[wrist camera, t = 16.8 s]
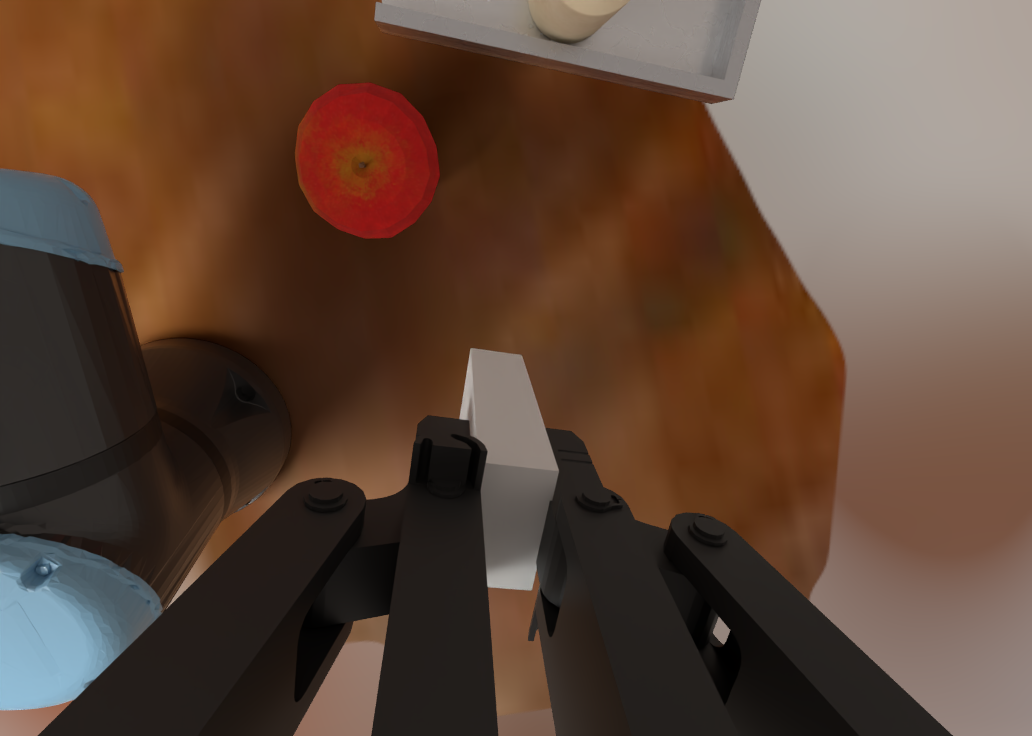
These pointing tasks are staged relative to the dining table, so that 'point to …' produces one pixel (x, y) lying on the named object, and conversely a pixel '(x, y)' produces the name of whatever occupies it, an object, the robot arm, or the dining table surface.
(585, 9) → the candle
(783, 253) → the dining table surface
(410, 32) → the gray tray
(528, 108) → the dining table surface
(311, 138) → the apple
